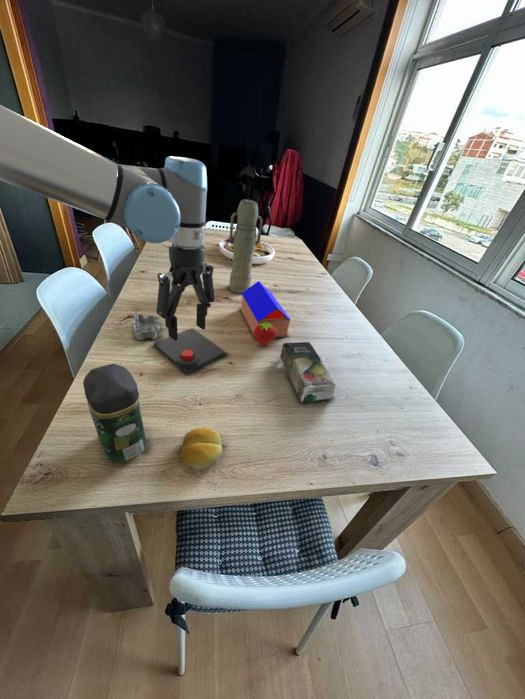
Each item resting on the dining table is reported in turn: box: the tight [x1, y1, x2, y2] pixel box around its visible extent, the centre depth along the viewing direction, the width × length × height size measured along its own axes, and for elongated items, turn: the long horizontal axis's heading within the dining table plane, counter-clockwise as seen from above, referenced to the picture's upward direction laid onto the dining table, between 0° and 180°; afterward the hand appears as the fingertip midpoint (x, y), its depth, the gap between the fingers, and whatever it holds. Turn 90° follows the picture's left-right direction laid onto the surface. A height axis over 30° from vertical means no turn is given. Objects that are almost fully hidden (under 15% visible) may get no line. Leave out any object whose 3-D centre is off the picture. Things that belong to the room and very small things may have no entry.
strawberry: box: [253, 321, 277, 347], centre depth 92 cm, size 6×8×10 cm
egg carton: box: [133, 312, 161, 341], centre depth 91 cm, size 11×8×4 cm
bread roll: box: [179, 427, 223, 470], centre depth 60 cm, size 8×9×4 cm
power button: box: [182, 350, 193, 361], centre depth 80 cm, size 3×3×2 cm
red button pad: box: [153, 327, 226, 375], centre depth 87 cm, size 16×14×3 cm
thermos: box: [229, 198, 264, 295], centre depth 116 cm, size 9×12×35 cm
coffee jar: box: [82, 363, 147, 464], centre depth 55 cm, size 10×8×19 cm
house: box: [240, 280, 291, 338], centre depth 104 cm, size 12×20×12 cm, turn 18°
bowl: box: [218, 234, 276, 265], centre depth 159 cm, size 30×30×8 cm
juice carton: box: [280, 341, 337, 403], centre depth 84 cm, size 20×10×6 cm, turn 15°
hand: (187, 332), depth 76 cm, fingers open, 8 cm apart
